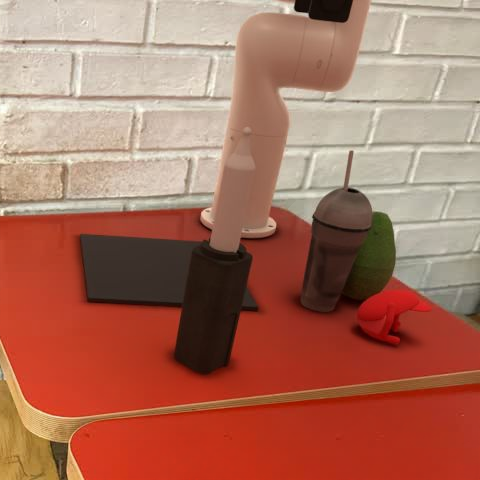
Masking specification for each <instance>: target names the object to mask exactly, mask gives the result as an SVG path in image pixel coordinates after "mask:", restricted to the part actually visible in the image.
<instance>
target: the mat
mask: <svg viewBox="0 0 480 480" xmlns="http://www.w3.org/2000/svg"><path fill="white" fill-rule="evenodd" d="M79 240H80V248H81V257H82V264H83V265H82V266H83V273H84V280H85V289H86V298H87V302H88V303H100V304H101V303H104V304H121V305H142V306H157V307H158V306H160V307H161V306H162V307H163V306H164V307H177V308H182V305H183V299H184V293H185V288H186V282H187V276H188V270H189V265H190V259H191V253H192V249H193V248H194V247H196V246H200V245H201V243H202V241H203V240H202V241H200V240H185V239H168V238H152V237H137V236H123V235H108V234H107V235H105V234H91V233H90V234H89V233H79ZM241 311H254V312H258V311H259V305H258V304H257V302H256V299H255V298H254V297H253V295H252V293H251V290H249V287H248V285H247V286H246V290H245V295H244V299H243V303H242V308H241Z"/></svg>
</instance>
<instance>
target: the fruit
mask: <svg viewBox="0 0 480 480" xmlns="http://www.w3.org/2000/svg"><path fill="white" fill-rule="evenodd" d="M396 258H397V249H396V241H395V232H394V225H393V222H392V220H391V217H390V216H389V215H388V213H385V212H382V211H373V210H372V224H371V230H369V232H368V235H367V237H366V239H365V240H364V242H363V243H362V244H361V247H360V249H359V251H358V254H357V256H356V259H355V261H354V264H353V266H352V268H351V271H350V273H349V276H348V278H347V280H346V283H345V285H344V288H343V290H342V292H341V294H343V295H344V296H346V297H347V298H349V299H352V300H354V301H366V300H367V299H368V298H370V297H372V296H374V295H376V294H378V293H381V292H383V290H384V289H385V288H386V287H387V285H388V284H389V282H390V281H391V279H392V277H393V275H394V271H395V267H396V261H397V260H396Z"/></svg>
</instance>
